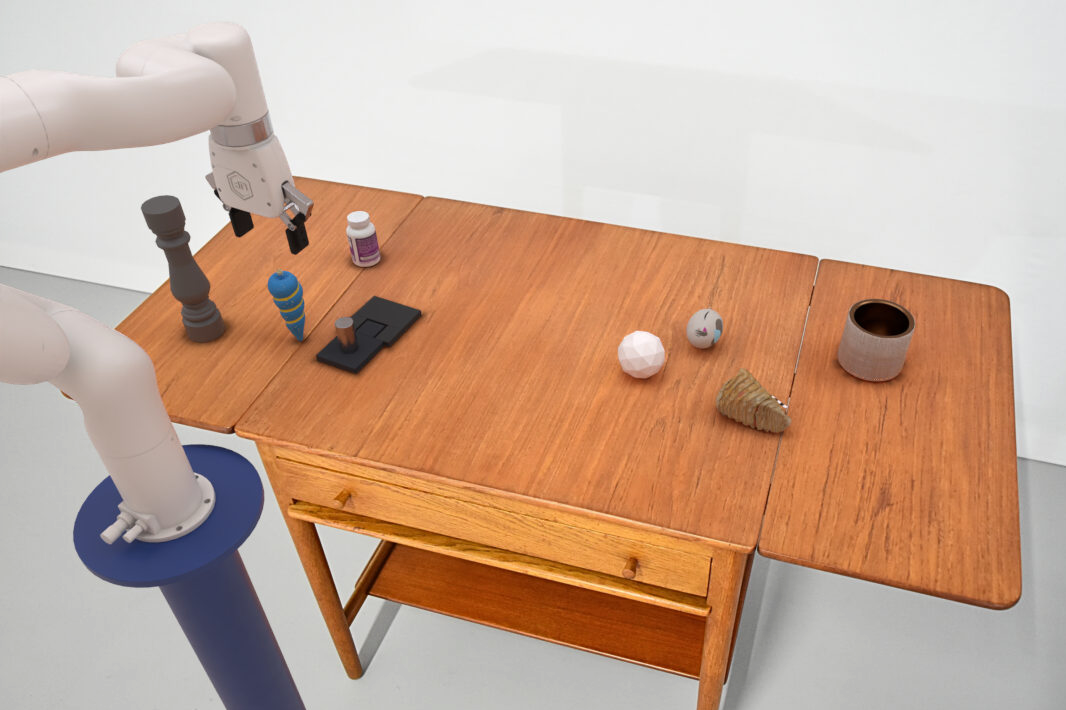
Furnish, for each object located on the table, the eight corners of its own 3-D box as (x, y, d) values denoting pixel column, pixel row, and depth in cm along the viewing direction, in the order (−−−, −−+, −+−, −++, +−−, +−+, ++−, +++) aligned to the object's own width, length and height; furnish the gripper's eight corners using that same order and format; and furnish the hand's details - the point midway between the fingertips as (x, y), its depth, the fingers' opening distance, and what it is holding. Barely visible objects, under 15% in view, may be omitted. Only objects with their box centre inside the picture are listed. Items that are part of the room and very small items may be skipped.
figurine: (712, 363, 151) (716, 332, 146) (678, 354, 153) (681, 323, 148) (726, 336, 156) (730, 305, 152) (693, 327, 158) (696, 297, 153)
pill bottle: (385, 254, 173) (378, 211, 167) (373, 270, 170) (364, 226, 163) (360, 250, 174) (351, 206, 168) (347, 265, 171) (337, 221, 164)
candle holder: (179, 337, 154) (129, 209, 137) (204, 316, 158) (159, 191, 141) (208, 346, 153) (161, 218, 136) (233, 325, 157) (190, 199, 140)
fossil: (719, 386, 147) (709, 417, 140) (729, 358, 143) (719, 388, 136) (790, 410, 146) (783, 442, 139) (801, 382, 142) (795, 414, 135)
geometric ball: (630, 378, 152) (620, 332, 151) (675, 371, 149) (665, 323, 148) (616, 386, 145) (606, 337, 144) (663, 378, 142) (653, 329, 141)
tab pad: (356, 374, 148) (349, 343, 143) (316, 360, 150) (308, 329, 146) (396, 334, 156) (390, 303, 151) (358, 322, 158) (351, 291, 153)
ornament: (307, 351, 152) (287, 279, 142) (279, 348, 153) (257, 275, 142) (319, 332, 156) (301, 260, 145) (292, 329, 156) (271, 257, 146)
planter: (824, 348, 154) (835, 304, 148) (880, 337, 157) (893, 292, 150) (856, 389, 147) (869, 344, 140) (914, 376, 149) (929, 331, 143)
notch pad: (389, 348, 153) (388, 342, 152) (341, 331, 156) (340, 326, 155) (421, 315, 160) (421, 310, 159) (375, 300, 163) (374, 295, 162)
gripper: (167, 124, 114) (205, 239, 126) (275, 153, 109) (305, 270, 121) (209, 101, 119) (242, 213, 131) (314, 128, 114) (339, 242, 126)
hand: (272, 241), depth 126 cm, fingers open, 9 cm apart
